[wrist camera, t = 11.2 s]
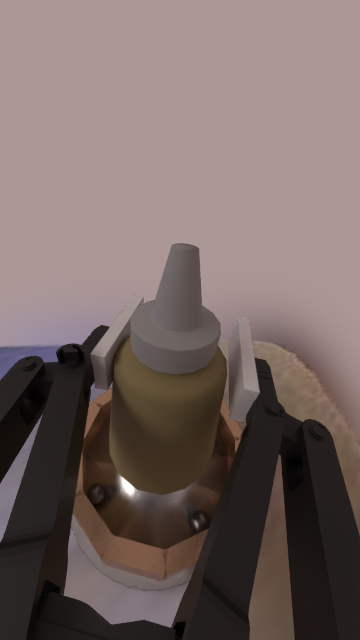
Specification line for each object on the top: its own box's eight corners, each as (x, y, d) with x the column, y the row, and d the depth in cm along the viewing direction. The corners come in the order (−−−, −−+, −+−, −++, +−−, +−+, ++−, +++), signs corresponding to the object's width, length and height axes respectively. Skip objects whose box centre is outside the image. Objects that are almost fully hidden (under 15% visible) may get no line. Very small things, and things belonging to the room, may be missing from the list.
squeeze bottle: (223, 454, 20) (311, 259, 10) (158, 546, 15) (207, 330, 4) (160, 398, 24) (178, 221, 14) (92, 455, 19) (40, 233, 9)
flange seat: (19, 555, 14) (0, 543, 12) (114, 378, 27) (112, 356, 24) (247, 622, 13) (269, 622, 11) (237, 407, 26) (247, 387, 24)
